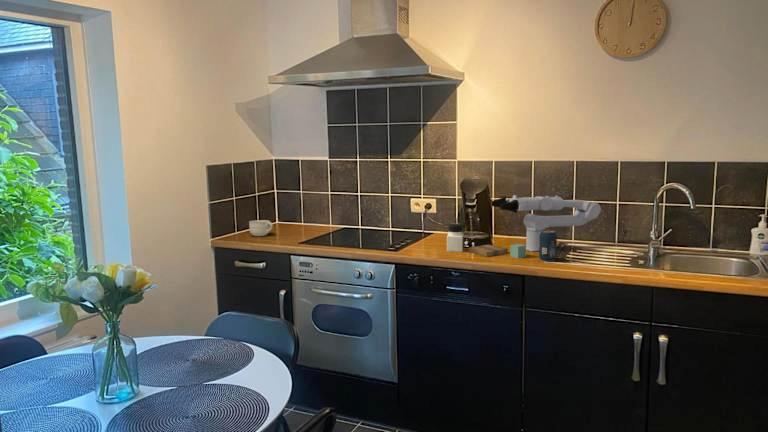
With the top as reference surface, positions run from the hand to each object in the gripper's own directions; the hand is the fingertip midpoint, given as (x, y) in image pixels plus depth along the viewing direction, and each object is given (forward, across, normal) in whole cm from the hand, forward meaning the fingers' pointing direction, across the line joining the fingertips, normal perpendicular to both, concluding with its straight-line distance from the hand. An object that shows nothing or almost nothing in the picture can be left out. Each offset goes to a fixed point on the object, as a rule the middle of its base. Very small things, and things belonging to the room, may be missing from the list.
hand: (496, 205), depth 259 cm
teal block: (-6, +11, +21) cm, 24 cm away
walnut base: (+2, -1, +21) cm, 21 cm away
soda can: (-13, +21, +20) cm, 32 cm away
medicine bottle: (+13, -12, +22) cm, 28 cm away
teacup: (+89, -86, +28) cm, 127 cm away
